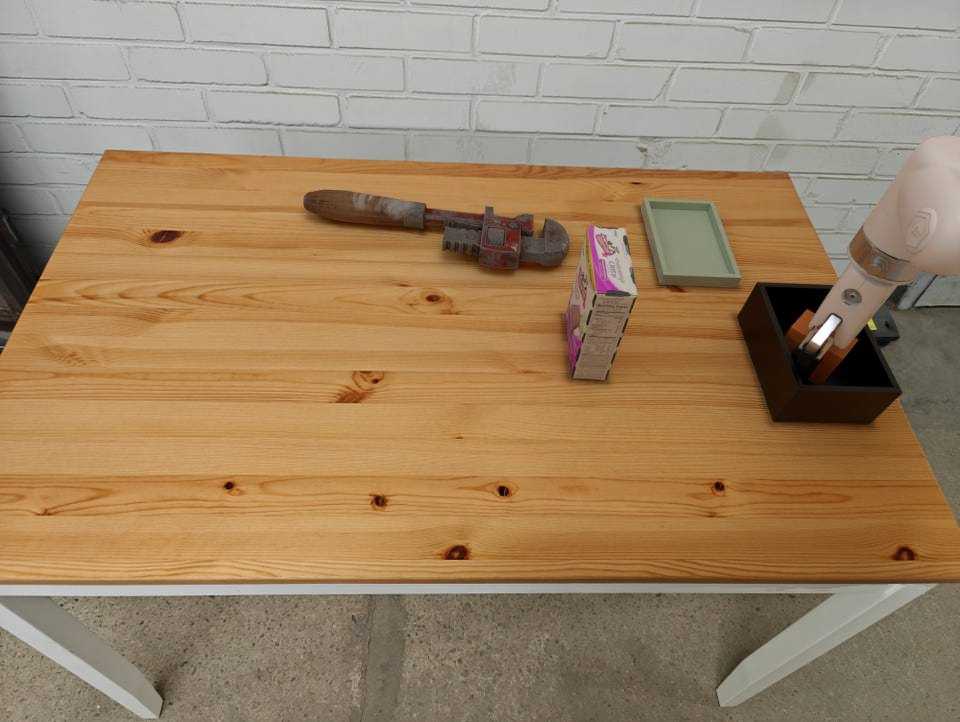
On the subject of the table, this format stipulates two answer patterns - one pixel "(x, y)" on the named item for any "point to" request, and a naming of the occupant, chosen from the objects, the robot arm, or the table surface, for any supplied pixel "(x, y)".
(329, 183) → the table surface
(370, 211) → the pipe wrench
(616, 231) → the candy bar box
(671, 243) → the shallow green tray
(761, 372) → the dark open storage bin
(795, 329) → the orange brown rectangular block
